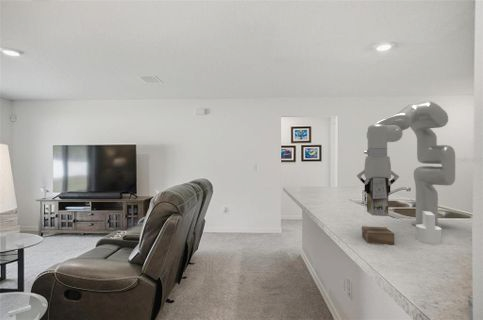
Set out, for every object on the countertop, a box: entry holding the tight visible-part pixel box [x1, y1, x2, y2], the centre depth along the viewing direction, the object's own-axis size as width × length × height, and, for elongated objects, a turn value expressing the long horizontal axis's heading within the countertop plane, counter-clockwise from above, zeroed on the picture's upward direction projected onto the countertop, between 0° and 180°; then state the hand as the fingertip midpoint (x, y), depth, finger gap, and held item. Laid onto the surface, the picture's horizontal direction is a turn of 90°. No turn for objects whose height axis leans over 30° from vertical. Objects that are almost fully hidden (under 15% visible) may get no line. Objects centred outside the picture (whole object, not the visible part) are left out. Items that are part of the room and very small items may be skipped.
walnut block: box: [361, 225, 395, 246], centre depth 111 cm, size 10×10×5 cm
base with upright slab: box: [415, 211, 443, 245], centre depth 111 cm, size 9×9×12 cm
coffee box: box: [366, 177, 390, 217], centre depth 111 cm, size 9×6×16 cm
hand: (377, 193), depth 111 cm, fingers closed on coffee box, 7 cm apart
